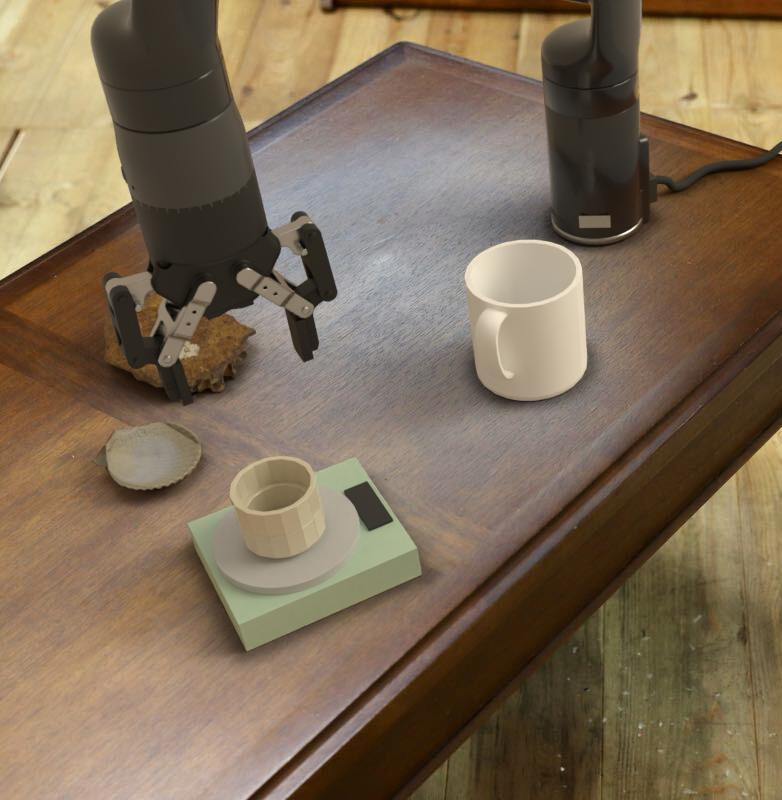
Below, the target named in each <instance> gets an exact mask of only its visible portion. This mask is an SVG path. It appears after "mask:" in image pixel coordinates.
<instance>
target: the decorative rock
mask: <svg viewBox="0 0 782 800" xmlns="http://www.w3.org/2000/svg"><path fill="white" fill-rule="evenodd" d="M162 299H163V297H162V296H160V295H158V294H157V293H156V292H154V293H152V294H149V293H148V294H147V295H146V297H145V305H144V307H143V309H142V311H140V312H136V314H137V318H138V322H139V326H140V331H141V335H142V337H149V336H150V334H151V332H152V329H153V327H154V325H155V323H156V321H157V319H158V309H159V306H160V304H161V302H162ZM103 324H104V327H103V329H104V332H103V336H104V340H105V347H104V352H105V353H104V358H103V361H104V362H105V363H107V364H110V365H112V366H113V367H116V368H118V369H121V370H123V371H127V372H129V373H131V375H132V376H133V377H134V378H135V379H136V380H137V381H140V382H145V383H147V384H149V385H151V386H153V387H155V388H161V389H162V388H163V389H164V387H163V385H162V382H161V379H160V376H159V373H158V370H157V367H156V365H154V364H146V365H145V366H144V367H142V368H140V369H133V368H131V367H130V366H129V364H128V362H127V361H126V359H125V357H124V355H123V353H122V351H121V349H120V347H119V345H118V342H117V338H116V334H115V330H114V326H113V323H112V319H111V315H110V314H109V315H106V316H105V318H104V321H103ZM256 334H257V329H255V328H253V327H250V326H247V325H246V324H243V323H241V322H239V321H238V319H236V317H235V316H234V315H231V314H228V313H224V314H223V315H221V316H219V317H216V318H213V319H211V320H208V319H207V317H202V318H201V320H200V322H199V324H198V326H197V328H196V330H195V332H194V334H193V337H192V338H191V339H190V340H187V341H186V342H185V344H184V346H183V348H182V350H181V353H180V355H179V359H180V361H181V362H182V365H183V368H184V372H185V375H186V378H187V382H188V385H189V388H190V391H191V394H193V393H195V392H198V393H201V392H203V391H204V390H206V389H210V390H211V391H212V392H213V393H219V392H222V391H223V390H225V388H226V384H225V382H224V377H227V376H230V377H232V378H233V379H236V374H237V371H236V365H237V364H238V362H239V361H240V362H241V361H244V359H246V358H247V356H249V353H248V345H247V341H248V339H249V338H250V337H252V336H254V335H256Z"/></svg>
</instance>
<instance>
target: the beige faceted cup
mask: <svg viewBox="0 0 782 800" xmlns="http://www.w3.org/2000/svg"><path fill="white" fill-rule="evenodd" d="M228 494H229V495H228V496H229V499H230V503H231V506H232V507H233V510H234V514H235V517H236V520H237V524H238V527H239V530H240V534H241V537H242V540H243V542H244V543H245V545H246V547H247V548H248V549H249V550H250V551H252V552H254V553H255V554H257V555H259V556H263V557H268V558H274V559H281V558H289V557H293V556H296V555H298V554H300V553H302V552H304V551H306V550H307V549H309V548H310V547H311V546H312V545H313V544H314V543H316V542H317V541H318V540H319V539H320V537H321V535H322V534H323V532H324V530H325V528H326V516H325V512H324V508H323V503H322V499H321V495H320V491H319V486H318V482H317V478H316V474H315V471H314V469H313V467H312V466H311V465H310V463H308V462H306V461H304V460H303V459H301V458H299V457H294V456H287V455H277V456H268V457H264V458H261V459H259V460H257V461H254V462H252V463H249V464H248V465H247V466H245V467H244V468H242V469H241V470H240V471H238V473H237V474H236V475H235V476H234V478H233V480H232V481H231V483H230V485H229V493H228Z"/></svg>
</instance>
